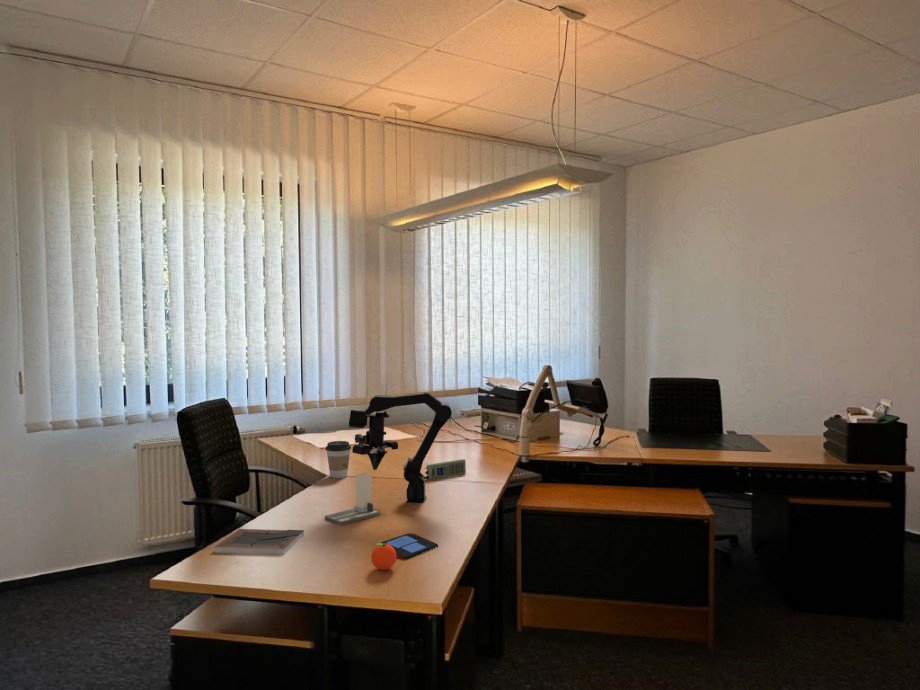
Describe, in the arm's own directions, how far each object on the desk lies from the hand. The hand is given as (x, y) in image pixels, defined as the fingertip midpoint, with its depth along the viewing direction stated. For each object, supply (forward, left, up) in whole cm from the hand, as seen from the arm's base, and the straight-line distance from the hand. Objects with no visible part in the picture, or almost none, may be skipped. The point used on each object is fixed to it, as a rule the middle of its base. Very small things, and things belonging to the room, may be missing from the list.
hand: (374, 469), depth 236 cm
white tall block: (-1, +16, -11) cm, 19 cm away
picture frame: (+25, +47, -13) cm, 55 cm away
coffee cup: (+25, -36, -12) cm, 46 cm away
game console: (-22, +47, -13) cm, 53 cm away
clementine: (-18, +63, -12) cm, 67 cm away
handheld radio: (-20, -38, -13) cm, 45 cm away
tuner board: (+3, +19, -12) cm, 23 cm away
